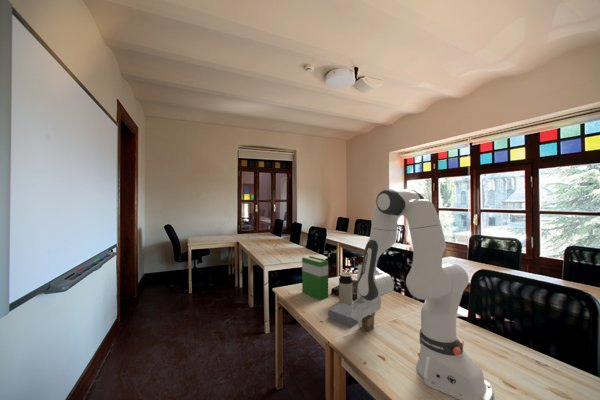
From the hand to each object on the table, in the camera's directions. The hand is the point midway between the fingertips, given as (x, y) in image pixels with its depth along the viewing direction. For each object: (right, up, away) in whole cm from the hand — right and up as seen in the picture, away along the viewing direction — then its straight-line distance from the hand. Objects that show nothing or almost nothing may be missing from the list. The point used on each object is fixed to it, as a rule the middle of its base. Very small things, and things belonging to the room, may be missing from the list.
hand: (366, 323), depth 118 cm
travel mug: (-5, -3, +29) cm, 29 cm away
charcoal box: (-8, -3, +10) cm, 13 cm away
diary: (+3, -4, +47) cm, 47 cm away
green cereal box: (-23, -3, +42) cm, 48 cm away
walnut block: (0, -3, 0) cm, 2 cm away
